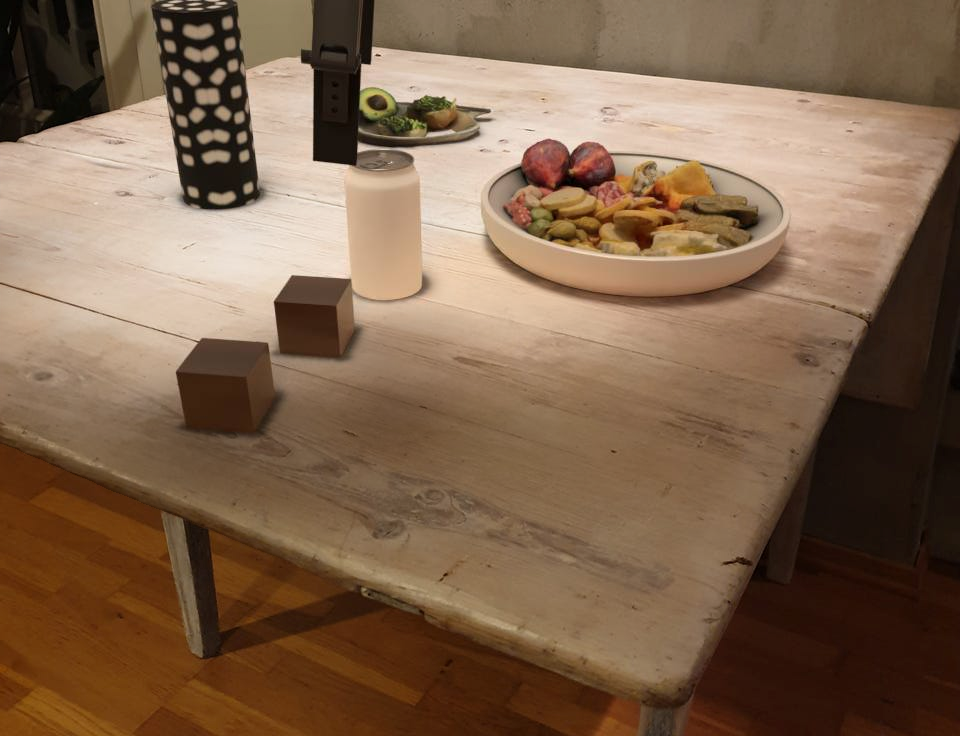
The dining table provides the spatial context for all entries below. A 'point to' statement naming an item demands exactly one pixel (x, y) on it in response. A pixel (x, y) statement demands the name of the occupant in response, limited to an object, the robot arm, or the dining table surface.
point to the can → (384, 224)
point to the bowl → (632, 220)
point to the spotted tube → (207, 101)
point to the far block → (315, 316)
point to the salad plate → (413, 119)
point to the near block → (226, 385)
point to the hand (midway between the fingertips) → (344, 107)
